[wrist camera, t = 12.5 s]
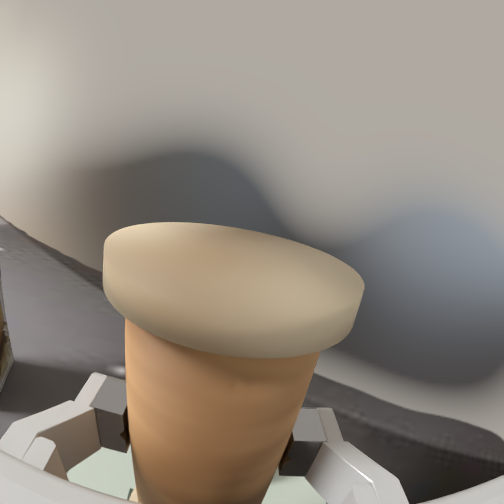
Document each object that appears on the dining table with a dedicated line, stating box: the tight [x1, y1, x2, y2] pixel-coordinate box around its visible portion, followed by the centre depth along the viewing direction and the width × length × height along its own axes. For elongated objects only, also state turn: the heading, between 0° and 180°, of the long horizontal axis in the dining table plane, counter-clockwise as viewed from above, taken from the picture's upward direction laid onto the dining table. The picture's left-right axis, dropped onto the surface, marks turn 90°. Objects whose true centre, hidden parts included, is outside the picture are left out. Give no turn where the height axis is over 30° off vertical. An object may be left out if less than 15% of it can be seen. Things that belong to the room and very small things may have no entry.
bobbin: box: [103, 222, 364, 504], centre depth 9 cm, size 6×6×12 cm
